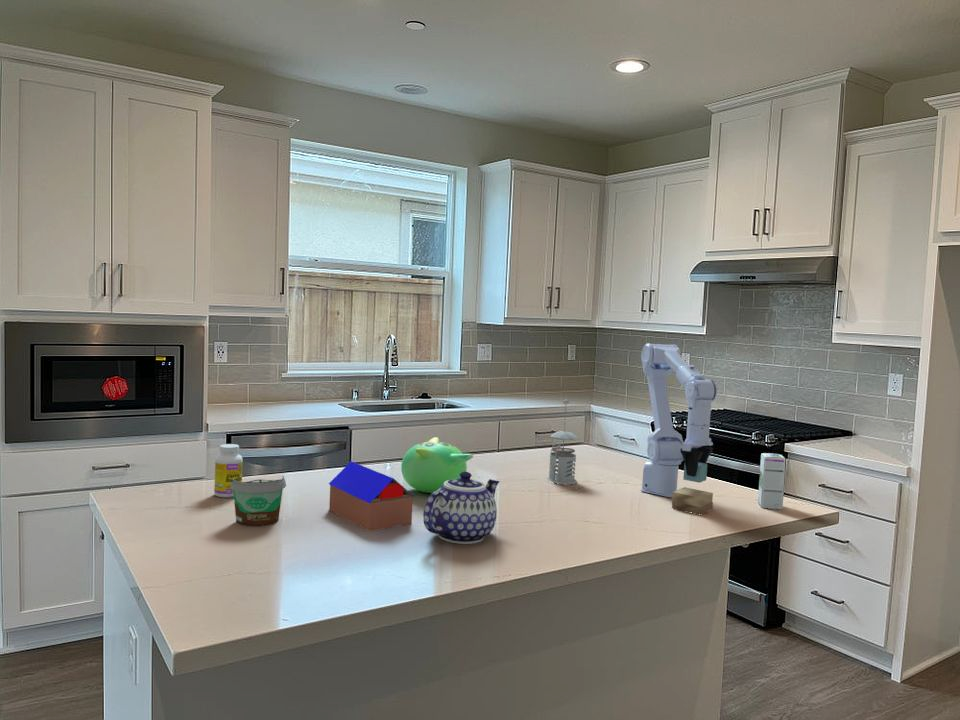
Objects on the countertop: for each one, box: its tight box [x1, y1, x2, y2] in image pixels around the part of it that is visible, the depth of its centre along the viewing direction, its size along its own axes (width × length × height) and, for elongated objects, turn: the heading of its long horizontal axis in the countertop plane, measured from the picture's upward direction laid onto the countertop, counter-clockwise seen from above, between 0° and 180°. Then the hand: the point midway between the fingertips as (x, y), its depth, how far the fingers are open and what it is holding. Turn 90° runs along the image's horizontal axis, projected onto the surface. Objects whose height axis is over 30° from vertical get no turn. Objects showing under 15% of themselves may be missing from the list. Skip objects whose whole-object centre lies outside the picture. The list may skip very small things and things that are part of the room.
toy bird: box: [400, 436, 474, 494], centre depth 199 cm, size 18×17×15 cm
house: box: [328, 461, 414, 532], centre depth 173 cm, size 12×20×12 cm, turn 39°
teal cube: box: [682, 462, 708, 483], centre depth 195 cm, size 4×4×4 cm
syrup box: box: [757, 452, 786, 511], centre depth 201 cm, size 6×6×14 cm
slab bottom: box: [671, 500, 714, 516], centre depth 195 cm, size 8×8×2 cm
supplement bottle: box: [213, 443, 244, 499], centre depth 186 cm, size 7×7×13 cm
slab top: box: [671, 486, 714, 507], centre depth 195 cm, size 8×8×2 cm
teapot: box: [423, 471, 500, 545], centre depth 161 cm, size 25×15×15 cm, turn 139°
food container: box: [230, 475, 287, 528], centre depth 163 cm, size 12×6×10 cm, turn 117°
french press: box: [546, 399, 578, 485], centre depth 219 cm, size 10×12×25 cm
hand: (694, 474), depth 195 cm, fingers closed on teal cube, 4 cm apart
